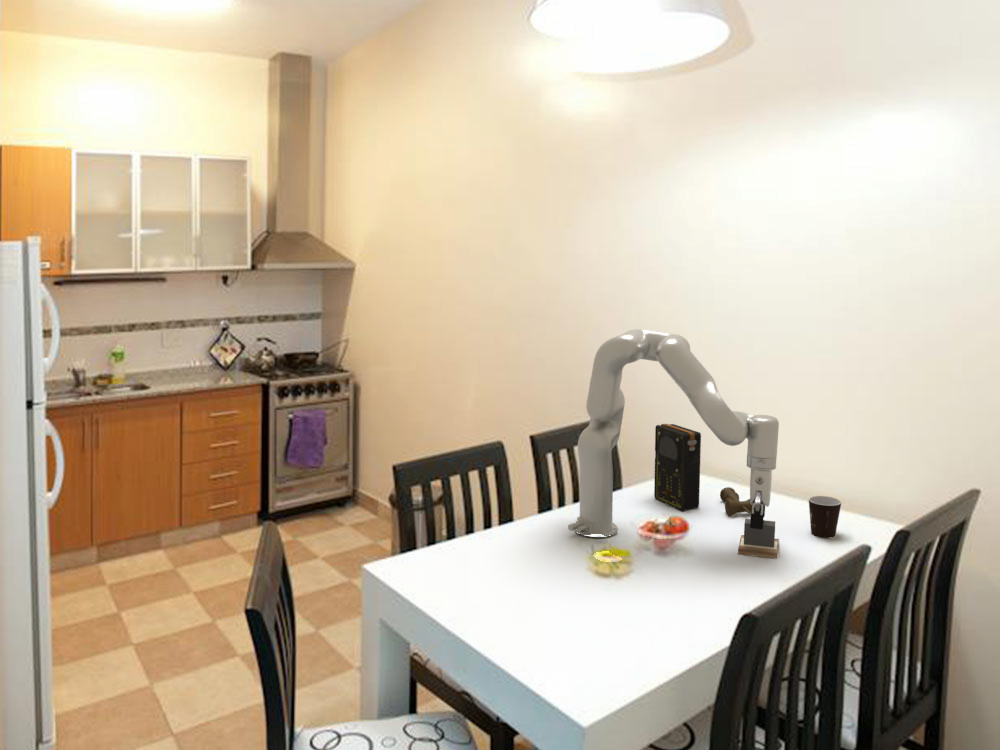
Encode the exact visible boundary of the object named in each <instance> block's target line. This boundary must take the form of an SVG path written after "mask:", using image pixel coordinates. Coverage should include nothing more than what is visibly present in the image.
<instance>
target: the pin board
mask: <svg viewBox="0 0 1000 750" xmlns="http://www.w3.org/2000/svg"><path fill="white" fill-rule="evenodd" d="M779 544H780V539H779V538H775V542H774V548H772V547H763V546H754V545H745V544H744V534H741V535H740V538H739V542H738V549H737V555H741V554H742V555H743V556H751V557H752V556H753V557H758V558H767V559H778V554H779Z"/></svg>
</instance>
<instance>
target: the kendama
mask: <svg viewBox="0 0 1000 750" xmlns="http://www.w3.org/2000/svg"><path fill="white" fill-rule="evenodd" d="M719 497H720V500H721V501H722V502H724V510H725V511H724V512H725V514H726V515H727V517H730V518H731V517H733V516H734V515H736V514H738V513H747V514H749V515H751V513H752V506H753V505H752V504H751V503H750V498H749V499H747V500H742V501H741V500H740V495H739V494H738V493H737V492H736V490H735V489H734V488H732V487H729V486H728V487H727V486H726V487H724V488H722V489H721V490H720V493H719Z"/></svg>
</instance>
